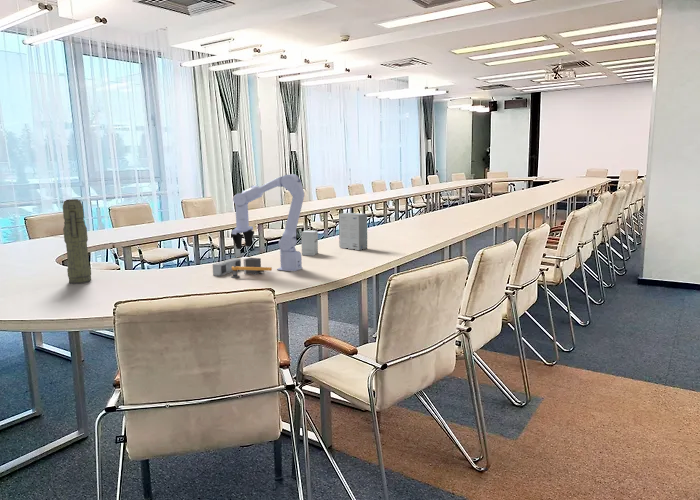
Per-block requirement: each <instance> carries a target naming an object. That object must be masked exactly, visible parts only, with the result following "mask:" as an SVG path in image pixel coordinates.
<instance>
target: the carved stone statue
mask: <svg viewBox="0 0 700 500" xmlns="http://www.w3.org/2000/svg"><path fill="white" fill-rule="evenodd" d="M62 214H63V215H62V216H63V220H64V222H63V223H64V225H63V230H62V231H63V239H64V240H63V241H64V243H65V247H66V255H67V256H66V257H67V265H68V266H67V269H66V270H67V277H68V283H69V284H73V285H76V284H79V285H80V284H86V283H89V282H91V281H92V268H91V265H90V262H89V251H88V250H89V249H88V240H89V239H88V229H87V225H86V224H85V220H84V219H85V214H84V205H83V203H82V201H81V200H80V199H76V198H72V199H65V200H63V203H62Z"/></svg>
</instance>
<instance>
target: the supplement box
mask: <svg viewBox="0 0 700 500" xmlns="http://www.w3.org/2000/svg"><path fill="white" fill-rule="evenodd" d="M300 234H301V235H300V237H301V239H300V240H301V256H316V255H318V254H319V244H318V243H319V242H318V241H319V237H318V234H319V233H318V230H303V231H301V233H300Z"/></svg>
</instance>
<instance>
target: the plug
mask: <svg viewBox="0 0 700 500" xmlns="http://www.w3.org/2000/svg"><path fill="white" fill-rule="evenodd" d="M261 265H262V263H261V258H259V257H247V258H245V259H244V258H243V267H262V266H261ZM264 272H265V271H264V270H243V274H244V275H248V274H250V275H258V274H261V273H264Z"/></svg>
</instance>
